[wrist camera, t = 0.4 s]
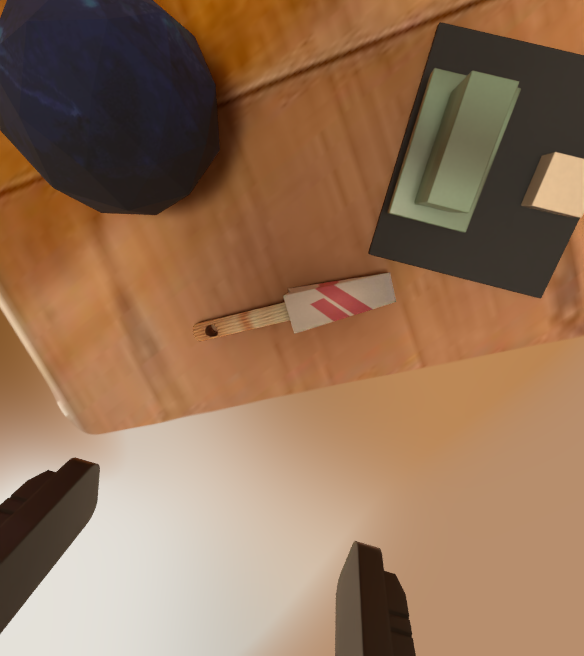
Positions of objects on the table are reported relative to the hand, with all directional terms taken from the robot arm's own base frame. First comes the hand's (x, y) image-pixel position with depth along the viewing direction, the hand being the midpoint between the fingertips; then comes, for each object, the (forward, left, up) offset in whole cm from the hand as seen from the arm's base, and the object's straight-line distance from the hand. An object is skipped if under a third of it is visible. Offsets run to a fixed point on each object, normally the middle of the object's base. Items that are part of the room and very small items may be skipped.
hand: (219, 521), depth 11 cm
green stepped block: (-15, +8, -27) cm, 32 cm away
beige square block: (-15, +18, -27) cm, 35 cm away
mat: (-15, +13, -27) cm, 34 cm away
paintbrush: (+1, -1, -27) cm, 27 cm away
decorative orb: (-12, -16, -27) cm, 34 cm away
